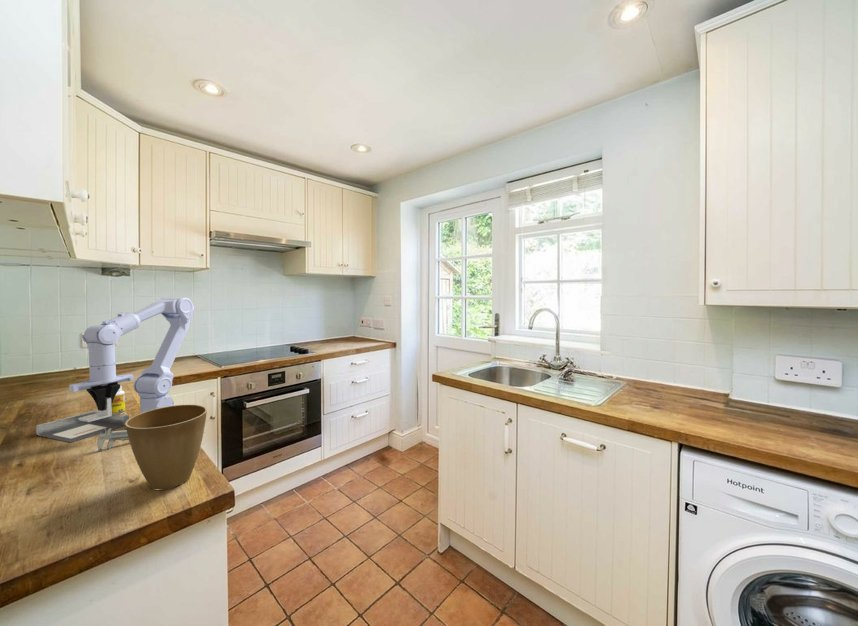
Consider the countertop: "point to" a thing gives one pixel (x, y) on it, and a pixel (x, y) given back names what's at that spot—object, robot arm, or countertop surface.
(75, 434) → the arena
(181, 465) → the plant pot
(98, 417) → the bracket
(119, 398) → the supplement bottle
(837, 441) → the countertop surface
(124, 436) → the caliper
